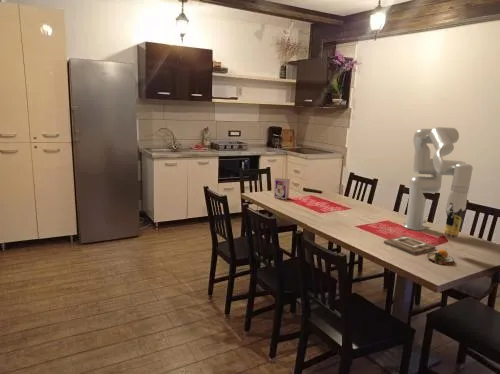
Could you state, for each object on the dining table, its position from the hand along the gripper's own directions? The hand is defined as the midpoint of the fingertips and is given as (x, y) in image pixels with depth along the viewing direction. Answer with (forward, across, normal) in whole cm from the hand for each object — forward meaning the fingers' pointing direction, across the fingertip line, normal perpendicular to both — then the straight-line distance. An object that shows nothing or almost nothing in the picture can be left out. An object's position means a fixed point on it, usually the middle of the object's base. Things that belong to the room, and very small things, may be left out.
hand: (453, 223), depth 190 cm
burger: (+16, +13, +4) cm, 21 cm away
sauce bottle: (+7, 0, 0) cm, 7 cm away
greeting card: (+19, +11, -127) cm, 129 cm away
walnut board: (+16, +11, -15) cm, 24 cm away
